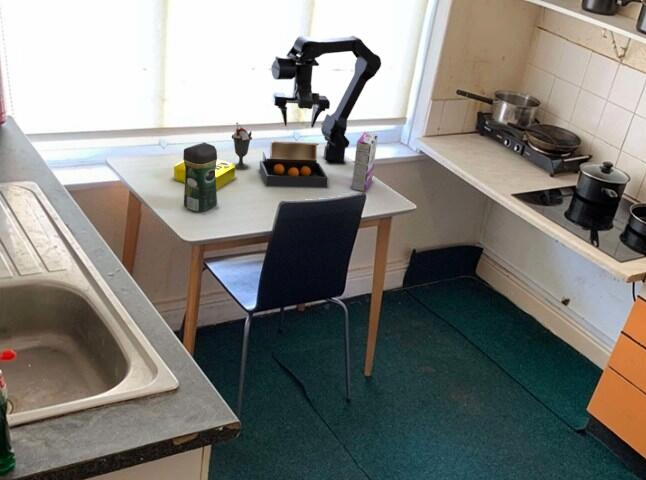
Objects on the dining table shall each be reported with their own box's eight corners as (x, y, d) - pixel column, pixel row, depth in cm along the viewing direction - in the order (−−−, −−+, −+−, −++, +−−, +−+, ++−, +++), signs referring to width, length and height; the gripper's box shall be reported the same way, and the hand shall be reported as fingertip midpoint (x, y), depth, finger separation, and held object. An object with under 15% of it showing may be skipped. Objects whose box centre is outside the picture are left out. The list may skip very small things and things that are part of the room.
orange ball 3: (312, 168, 254) (311, 178, 256) (310, 165, 256) (309, 175, 258) (302, 168, 253) (301, 178, 255) (299, 164, 255) (298, 174, 257)
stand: (310, 168, 265) (312, 152, 262) (315, 176, 260) (316, 160, 257) (262, 166, 260) (263, 150, 256) (265, 174, 254) (266, 158, 251)
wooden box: (314, 142, 254) (318, 143, 250) (314, 159, 256) (318, 161, 251) (269, 140, 250) (273, 141, 245) (269, 158, 251) (273, 159, 247)
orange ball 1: (284, 162, 253) (285, 173, 253) (282, 165, 256) (283, 176, 256) (274, 162, 252) (275, 172, 251) (272, 165, 255) (273, 175, 255)
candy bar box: (358, 178, 264) (364, 131, 255) (372, 181, 264) (378, 134, 254) (350, 189, 255) (356, 140, 245) (364, 192, 254) (371, 144, 245)
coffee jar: (200, 198, 231) (200, 138, 220) (221, 206, 229) (222, 145, 218) (178, 207, 224) (178, 145, 213) (199, 215, 221) (200, 153, 211)
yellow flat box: (196, 166, 251) (196, 151, 249) (237, 177, 248) (237, 163, 246) (171, 179, 239) (171, 164, 237) (213, 191, 237) (214, 177, 234)
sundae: (226, 167, 255) (228, 122, 246) (237, 161, 260) (239, 117, 251) (243, 172, 253) (246, 127, 244) (254, 166, 258) (256, 122, 250)
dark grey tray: (317, 172, 263) (318, 162, 261) (326, 187, 253) (327, 177, 251) (259, 170, 256) (260, 160, 254) (266, 186, 246) (267, 175, 244)
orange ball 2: (300, 175, 252) (298, 180, 255) (299, 165, 252) (297, 171, 256) (289, 174, 251) (287, 180, 254) (288, 165, 251) (286, 170, 255)
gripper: (279, 84, 241) (276, 133, 250) (336, 88, 247) (331, 136, 256) (272, 74, 249) (269, 122, 258) (328, 78, 255) (323, 124, 264)
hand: (298, 126), depth 259 cm, fingers open, 9 cm apart
